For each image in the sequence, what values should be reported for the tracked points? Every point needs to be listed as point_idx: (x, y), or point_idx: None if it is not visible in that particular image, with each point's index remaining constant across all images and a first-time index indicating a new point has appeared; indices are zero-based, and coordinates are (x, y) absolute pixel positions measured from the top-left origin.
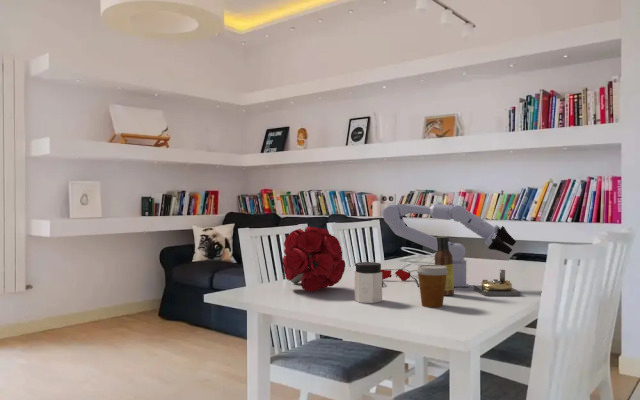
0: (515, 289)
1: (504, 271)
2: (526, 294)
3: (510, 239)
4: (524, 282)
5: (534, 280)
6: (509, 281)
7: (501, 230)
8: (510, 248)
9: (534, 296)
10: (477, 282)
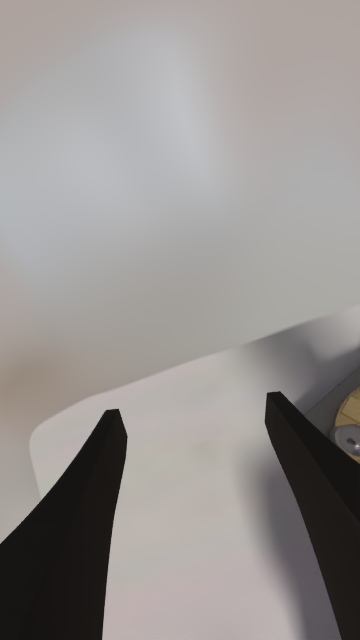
0: (356, 371)
1: (357, 425)
2: (326, 343)
3: (107, 454)
4: None
5: (64, 413)
6: (353, 398)
7: (50, 613)
8: (282, 401)
9: (342, 311)
10: (198, 623)
